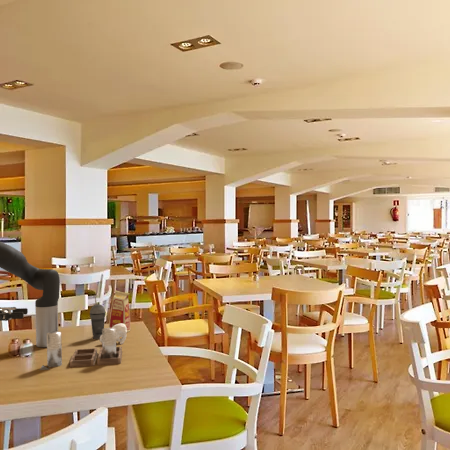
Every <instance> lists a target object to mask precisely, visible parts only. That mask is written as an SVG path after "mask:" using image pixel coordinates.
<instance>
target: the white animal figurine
mask: <svg viewBox="0 0 450 450" xmlns="http://www.w3.org/2000/svg"><path fill="white" fill-rule="evenodd" d="M112 328H116V342H119V345H123V344H124V343H125V342H126V339H127V334H128V332H127V327H126V325H125V324H123V323H120V324H116V325H115V326H114V327H112ZM120 337H121V338H120ZM99 342H100V343H101V344H102V335H101V336H100V339H99Z"/></svg>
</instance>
